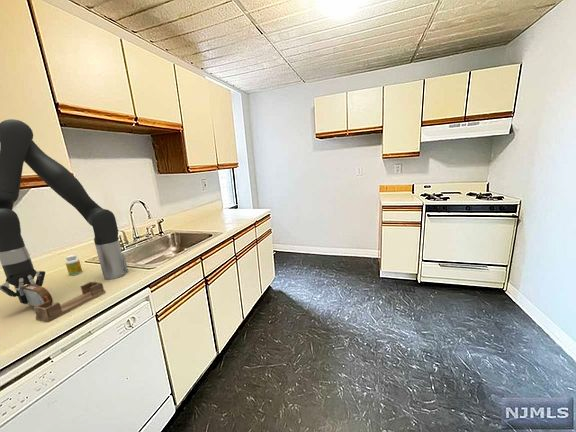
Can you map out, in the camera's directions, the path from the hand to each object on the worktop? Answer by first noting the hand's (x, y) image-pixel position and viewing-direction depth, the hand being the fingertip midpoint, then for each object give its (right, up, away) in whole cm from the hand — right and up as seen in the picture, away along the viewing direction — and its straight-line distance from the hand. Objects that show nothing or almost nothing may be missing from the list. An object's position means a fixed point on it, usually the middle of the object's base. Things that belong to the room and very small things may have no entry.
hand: (30, 301), depth 98 cm
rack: (+18, -1, -1) cm, 18 cm away
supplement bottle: (-9, +3, +31) cm, 33 cm away
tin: (+4, -2, -1) cm, 5 cm away
